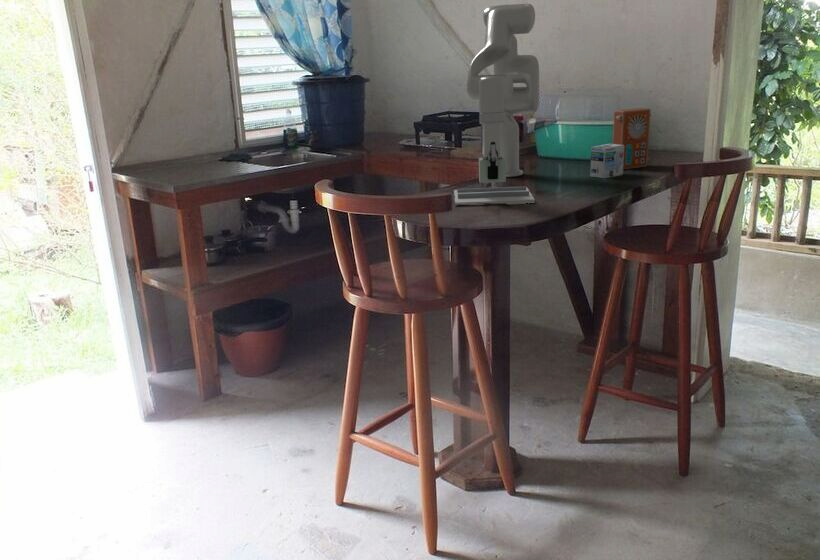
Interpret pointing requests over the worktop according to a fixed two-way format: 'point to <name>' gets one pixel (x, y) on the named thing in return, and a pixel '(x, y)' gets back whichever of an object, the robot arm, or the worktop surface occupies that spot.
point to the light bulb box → (607, 160)
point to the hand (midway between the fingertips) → (492, 176)
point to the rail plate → (494, 195)
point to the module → (484, 170)
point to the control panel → (632, 135)
